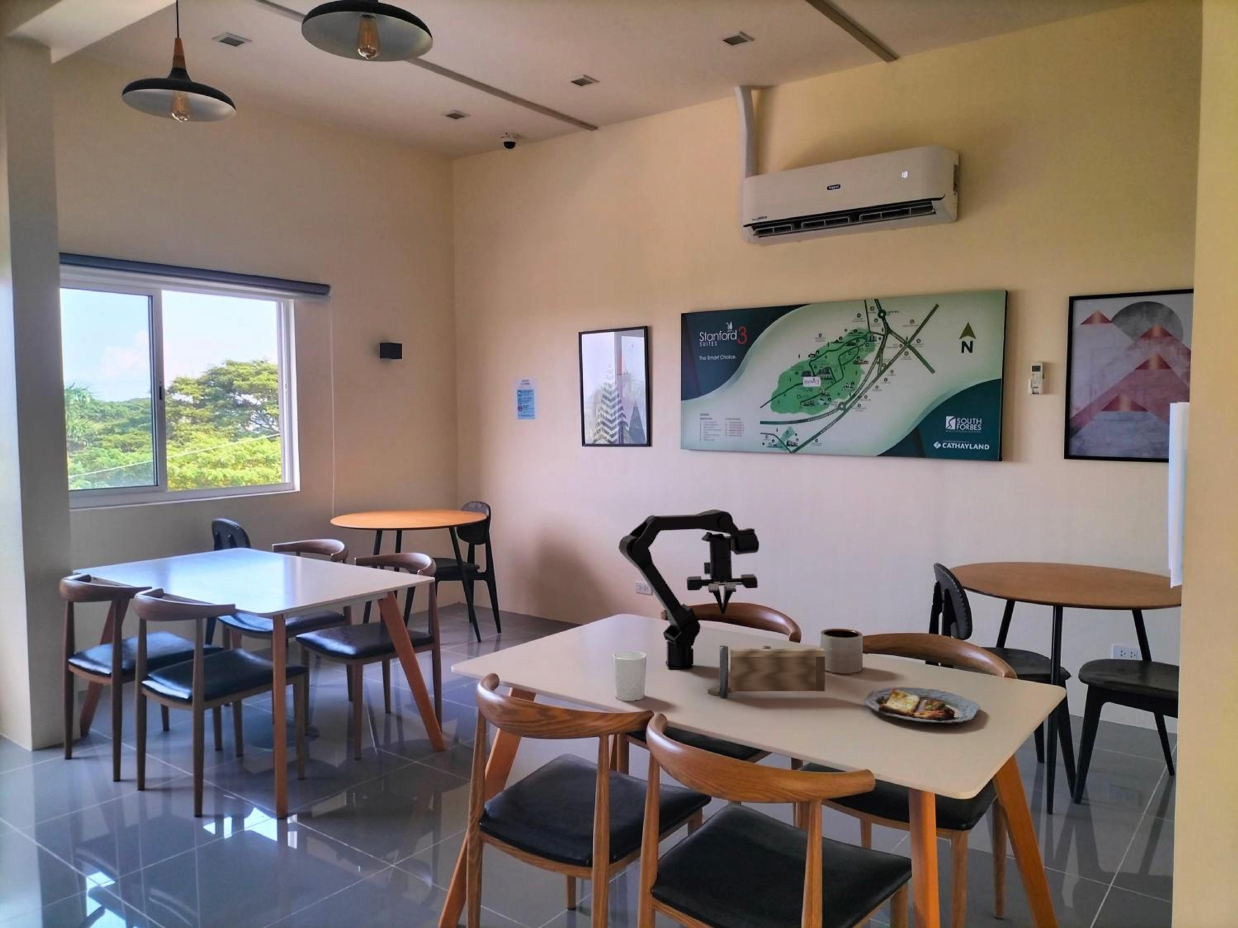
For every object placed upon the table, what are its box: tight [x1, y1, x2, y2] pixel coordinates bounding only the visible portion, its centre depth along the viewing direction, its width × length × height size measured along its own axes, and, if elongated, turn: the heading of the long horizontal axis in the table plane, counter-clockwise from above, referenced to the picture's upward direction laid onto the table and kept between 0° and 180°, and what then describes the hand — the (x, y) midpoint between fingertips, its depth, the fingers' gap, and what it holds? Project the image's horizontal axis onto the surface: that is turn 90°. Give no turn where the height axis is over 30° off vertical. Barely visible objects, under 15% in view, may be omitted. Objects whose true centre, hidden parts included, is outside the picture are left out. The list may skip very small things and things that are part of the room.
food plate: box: [863, 686, 981, 725], centre depth 192 cm, size 25×23×4 cm
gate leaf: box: [729, 648, 826, 693], centre depth 202 cm, size 22×2×10 cm, turn 91°
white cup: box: [612, 650, 647, 702], centre depth 203 cm, size 8×8×10 cm
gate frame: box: [707, 645, 772, 699], centre depth 212 cm, size 26×6×12 cm, turn 139°
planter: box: [819, 628, 864, 675], centre depth 225 cm, size 11×11×10 cm
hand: (722, 613), depth 232 cm, fingers closed
